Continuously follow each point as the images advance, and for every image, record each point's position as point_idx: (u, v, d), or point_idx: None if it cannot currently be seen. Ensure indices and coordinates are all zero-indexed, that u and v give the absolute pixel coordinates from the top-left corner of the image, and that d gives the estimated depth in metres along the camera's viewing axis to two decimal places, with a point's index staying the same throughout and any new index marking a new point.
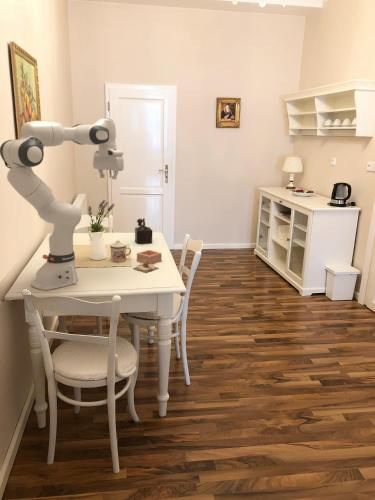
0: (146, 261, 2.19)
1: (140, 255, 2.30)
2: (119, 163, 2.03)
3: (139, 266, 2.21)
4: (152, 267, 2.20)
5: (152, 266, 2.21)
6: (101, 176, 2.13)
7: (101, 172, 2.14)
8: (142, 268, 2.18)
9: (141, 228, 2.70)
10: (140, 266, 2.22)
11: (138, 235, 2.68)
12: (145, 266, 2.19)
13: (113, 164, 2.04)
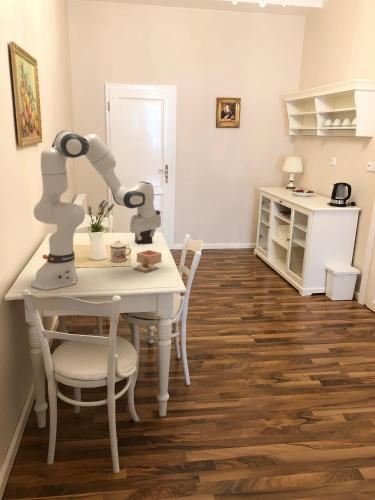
0: (146, 261, 2.19)
1: (140, 255, 2.30)
2: None
3: (139, 266, 2.21)
4: (152, 267, 2.20)
5: (152, 266, 2.21)
6: (141, 238, 2.12)
7: None
8: (142, 268, 2.18)
9: None
10: (140, 266, 2.22)
11: None
12: (145, 266, 2.19)
13: (156, 222, 2.18)
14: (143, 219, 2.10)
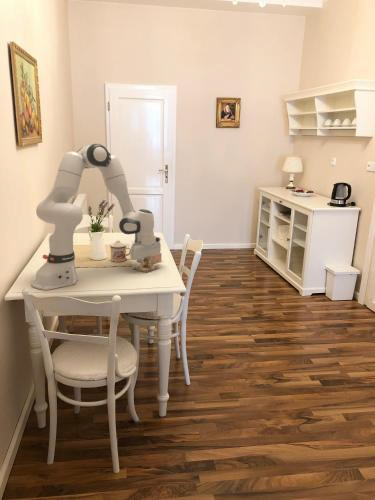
0: (146, 261, 2.19)
1: None
2: None
3: (139, 266, 2.21)
4: (152, 267, 2.20)
5: (152, 266, 2.21)
6: (144, 264, 2.18)
7: None
8: (142, 268, 2.18)
9: None
10: (140, 266, 2.22)
11: None
12: (145, 266, 2.19)
13: (156, 249, 2.22)
14: (143, 246, 2.14)
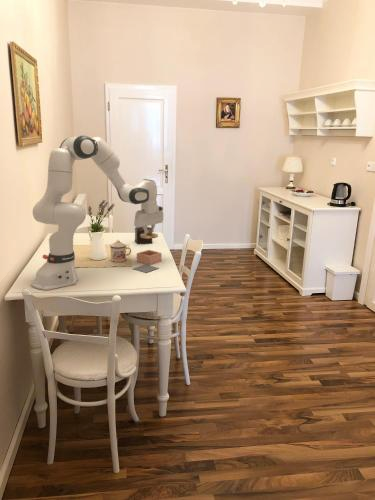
0: (149, 229, 2.28)
1: (140, 255, 2.30)
2: None
3: (143, 234, 2.30)
4: (155, 235, 2.29)
5: (155, 234, 2.31)
6: (148, 232, 2.27)
7: None
8: (146, 236, 2.27)
9: (141, 228, 2.70)
10: (144, 234, 2.31)
11: (138, 235, 2.68)
12: (148, 234, 2.28)
13: (159, 218, 2.31)
14: (146, 214, 2.23)
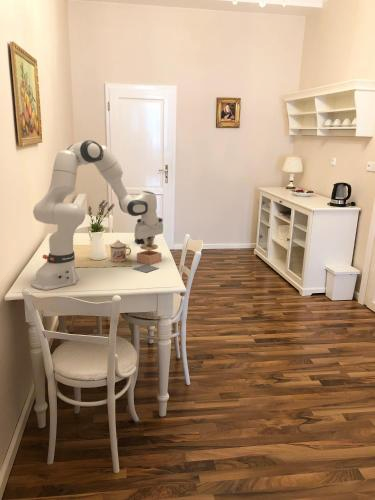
0: (149, 240, 2.30)
1: (140, 255, 2.30)
2: None
3: (143, 245, 2.32)
4: (155, 246, 2.31)
5: (155, 245, 2.33)
6: None
7: None
8: (146, 247, 2.29)
9: None
10: (144, 245, 2.33)
11: None
12: (148, 245, 2.30)
13: (158, 229, 2.33)
14: (146, 226, 2.25)
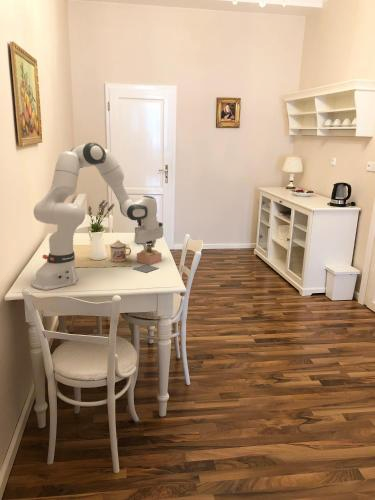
0: (149, 246, 2.30)
1: (140, 255, 2.30)
2: None
3: (143, 251, 2.33)
4: (155, 252, 2.32)
5: (155, 251, 2.33)
6: (147, 247, 2.29)
7: None
8: (146, 253, 2.29)
9: None
10: (144, 251, 2.33)
11: None
12: (148, 251, 2.31)
13: (158, 233, 2.33)
14: (147, 230, 2.25)
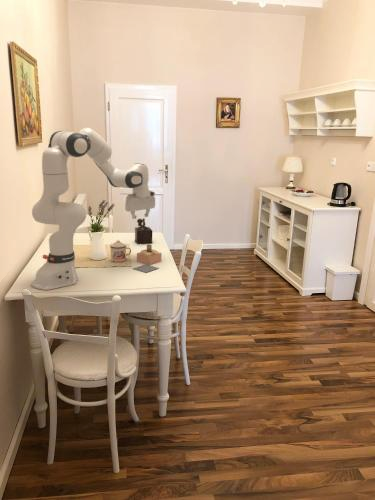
0: (149, 246, 2.30)
1: (140, 255, 2.30)
2: None
3: (143, 251, 2.33)
4: (155, 252, 2.32)
5: (155, 251, 2.33)
6: None
7: None
8: (146, 253, 2.29)
9: (141, 228, 2.70)
10: (144, 251, 2.33)
11: (138, 235, 2.68)
12: (148, 251, 2.31)
13: (150, 203, 2.30)
14: (138, 199, 2.22)
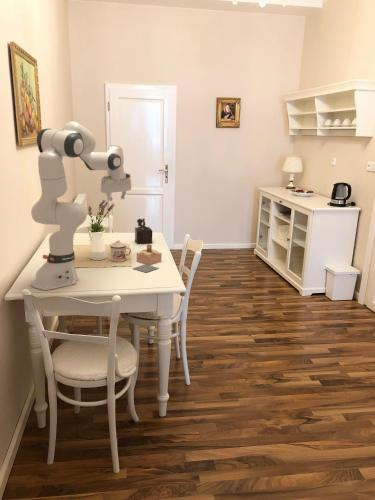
0: (149, 246, 2.30)
1: (140, 255, 2.30)
2: None
3: (143, 251, 2.33)
4: (155, 252, 2.32)
5: (155, 251, 2.33)
6: (111, 199, 2.28)
7: None
8: (146, 253, 2.29)
9: (141, 228, 2.70)
10: (144, 251, 2.33)
11: (138, 235, 2.68)
12: (148, 251, 2.31)
13: (126, 185, 2.34)
14: (113, 181, 2.25)
